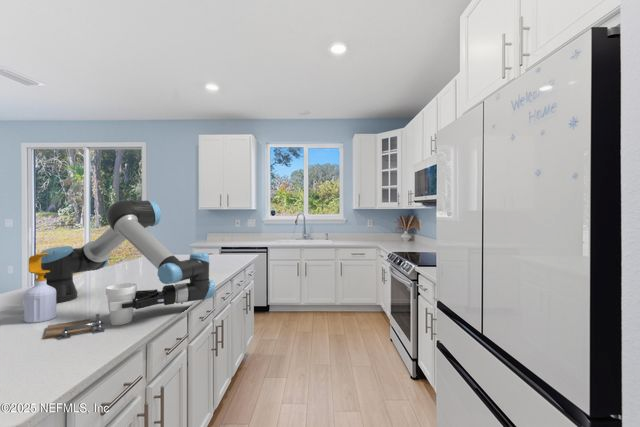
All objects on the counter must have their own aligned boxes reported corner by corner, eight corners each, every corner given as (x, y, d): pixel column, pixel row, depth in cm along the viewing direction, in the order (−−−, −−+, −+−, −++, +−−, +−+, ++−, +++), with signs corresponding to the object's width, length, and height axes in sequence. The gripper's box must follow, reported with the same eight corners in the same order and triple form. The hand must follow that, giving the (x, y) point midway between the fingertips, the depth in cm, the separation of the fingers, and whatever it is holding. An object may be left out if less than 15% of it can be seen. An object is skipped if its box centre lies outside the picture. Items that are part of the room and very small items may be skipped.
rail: (60, 327, 111) (60, 318, 111) (102, 320, 118) (102, 312, 118) (58, 339, 101) (58, 329, 101) (104, 331, 108) (104, 322, 108)
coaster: (48, 327, 111) (48, 325, 111) (90, 321, 118) (90, 318, 118) (44, 339, 101) (44, 336, 101) (91, 331, 108) (91, 328, 108)
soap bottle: (37, 324, 114) (37, 255, 114) (17, 322, 116) (17, 254, 116) (62, 316, 123) (62, 251, 123) (43, 314, 125) (43, 251, 125)
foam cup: (104, 328, 111) (104, 290, 111) (107, 319, 119) (107, 284, 119) (135, 323, 115) (136, 287, 115) (137, 316, 124) (137, 282, 124)
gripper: (181, 311, 119) (111, 322, 106) (168, 296, 138) (107, 305, 125) (181, 290, 119) (111, 300, 106) (168, 279, 138) (107, 286, 125)
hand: (108, 302), depth 115 cm, fingers open, 11 cm apart
